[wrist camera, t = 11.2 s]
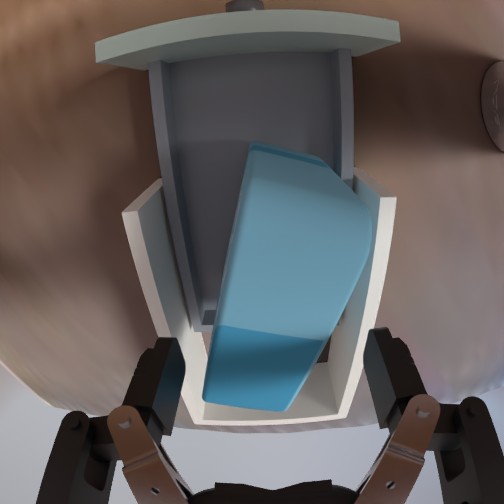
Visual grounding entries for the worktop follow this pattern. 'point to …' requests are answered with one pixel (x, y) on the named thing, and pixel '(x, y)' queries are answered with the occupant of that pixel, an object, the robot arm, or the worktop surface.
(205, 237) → the drawer
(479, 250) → the worktop surface
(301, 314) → the data package
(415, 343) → the worktop surface
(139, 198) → the cubby
